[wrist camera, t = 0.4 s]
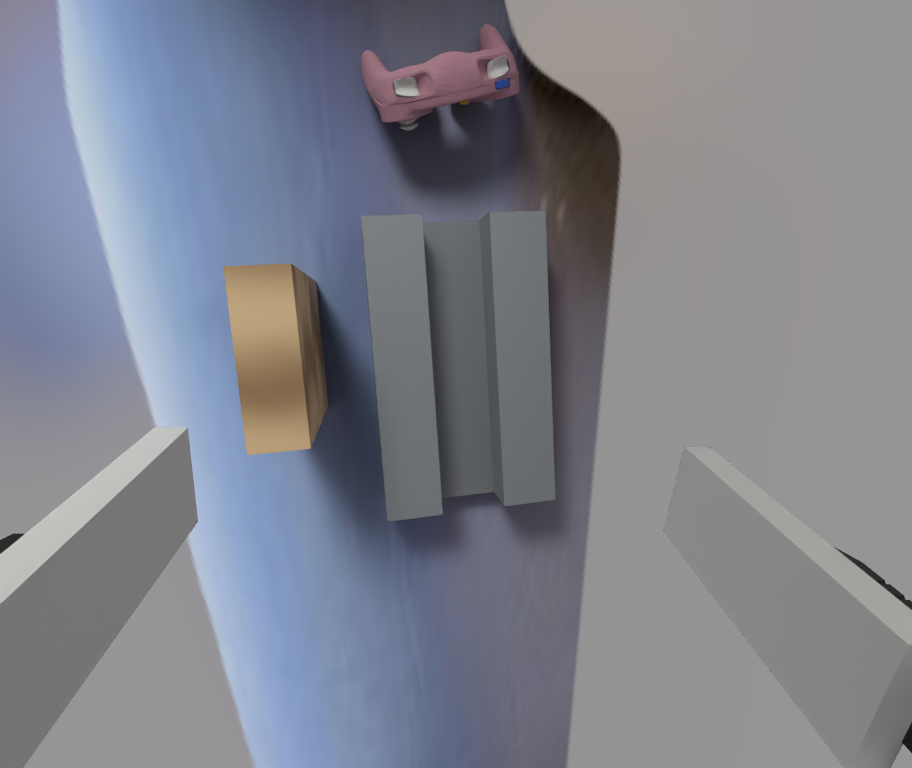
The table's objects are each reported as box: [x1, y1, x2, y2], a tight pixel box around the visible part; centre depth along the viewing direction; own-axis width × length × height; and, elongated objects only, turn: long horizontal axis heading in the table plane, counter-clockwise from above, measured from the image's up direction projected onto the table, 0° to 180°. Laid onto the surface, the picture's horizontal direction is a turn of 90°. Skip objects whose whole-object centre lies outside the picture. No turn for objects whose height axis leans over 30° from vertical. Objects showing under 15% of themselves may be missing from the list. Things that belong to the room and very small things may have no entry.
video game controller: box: [361, 24, 519, 131], centre depth 32 cm, size 10×5×7 cm, turn 106°
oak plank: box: [223, 264, 329, 455], centre depth 30 cm, size 9×3×12 cm, turn 4°
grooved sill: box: [361, 211, 556, 522], centre depth 35 cm, size 20×12×4 cm, turn 4°
